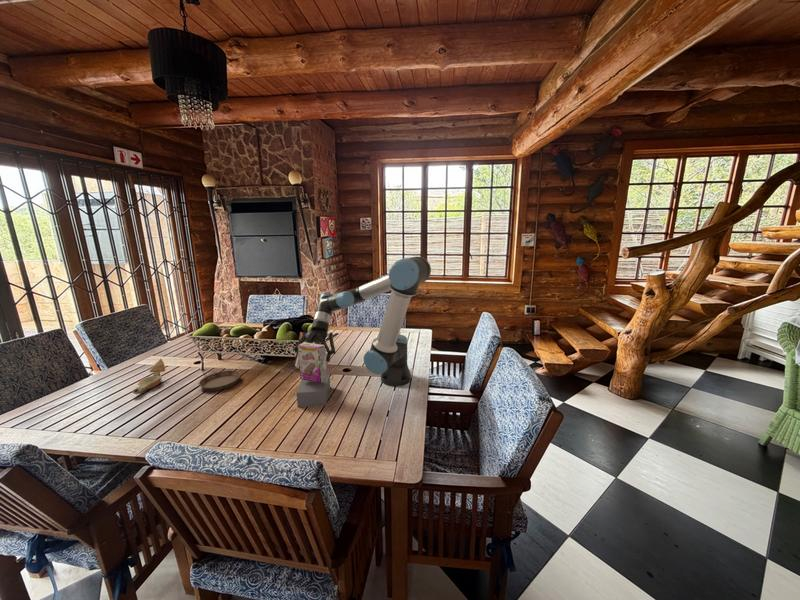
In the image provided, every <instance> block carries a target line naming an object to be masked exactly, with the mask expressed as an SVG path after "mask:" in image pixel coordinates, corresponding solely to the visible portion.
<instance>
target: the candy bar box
mask: <svg viewBox="0 0 800 600" xmlns="http://www.w3.org/2000/svg"><path fill="white" fill-rule="evenodd" d="M325 353H326V349H325V345H323V344H320V343H315V342H313V343H308V342H306V341H305V342H303V343H301V344H299V345H298V356H299V378H300V380H301V381H302V380H307V381H313V382H318V383H322V382H323V381H325V380H326V379H327V374H328V371H327V369H326V370H325V369H323V368H322V366H323V361H324V357H325Z"/></svg>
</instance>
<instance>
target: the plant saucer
mask: <svg viewBox="0 0 800 600" xmlns="http://www.w3.org/2000/svg"><path fill="white" fill-rule="evenodd" d="M240 377H241V373H240V372H239V371H236V370H223V371H218V372H214V373H211V374H208V375H206V376H205V377H203V378H202V379H201V380H199V382H198V385H199V386H200V387H201V388H202V389H203V390H206V391H209V392H210V391H211V392H213V391H214V392H215V390H216V391H220V390H225V389H228V388H229V387H232V386H233V385H235V384H236V383H237V382H238V380H239V379H240Z"/></svg>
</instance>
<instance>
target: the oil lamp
mask: <svg viewBox="0 0 800 600" xmlns="http://www.w3.org/2000/svg"><path fill="white" fill-rule="evenodd" d="M165 371H166V366H165V363H164V361H163V359H162V358H160V359H159V360H158V361H157V362H156V363H154V364H153V366H152V367H151V368H150V370H149V373H153V375H151V376H147V377H143V378H142V379H140V380H139V381H138V383H137V385H138V386H137V387H136V388H135V389H132V390H131V392H132V394H134V395H139V394H141V393H143V392H144V391H147V390H149V389H152V388H156V387H157V386H158V385H159V384H160V382H161V381H162V376H161V373H163V372H165Z"/></svg>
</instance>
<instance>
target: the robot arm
mask: <svg viewBox="0 0 800 600" xmlns="http://www.w3.org/2000/svg"><path fill="white" fill-rule="evenodd" d="M431 272H432V268H431V264H430V262H429V261H428V260H427V259H426V258H425V257H422V256H412V257H403V258H401V259H399V260H396V261H395V262H394V263H392V264H391V266H390V268H389V270H388V273H387V274H385V275H383V276H380V277H379V278H376V279H373V280H371V281H369V282H366V283H364V284H362V285H359V286H358V287H355V288H352V289H349V290H346V291H341V292H338V293H336V294H333V293H331V292H322V293H321V294H320V296H319V298H318V300H317V306H316V310H315V314H314V318H313V322H312V325H311V329H310V331H309V332H307V331H303V333H302V336H300V339H299V340H298V342H297V343H296V345H294V347H293V349H292V351H294V353H295V358H294V359H295V364H294V366H295V367H296V368H297V369H300V367H299V356H298V345H299V344H301V343H303V342H308V343H319V344H320V343H322V345H325V357H324V361H323V366H322V368H323V369H325V370H326V371H327V365H328V362H329V363H330V361H331V357H332V355H335V354H336V353H337V352H336V348H335V342H334V333H333V332H329V333H328V331H329V327H330V323H331V320H332V314H333V312H335V311H340V310H342V309H347V308H350V307H351V306H354V305H356V304H359V303H363V302H365V301H367V300H370V299H372V298H375V297H378V296H380V295H382V294H385V293H387V292H390V291H391V292H390V295H389V298H388V302H387V305H386V308H385V311H384V315H383V317H382V318H383V319H382V321H381V324H380V328H379V330H378V335H377V337H375V338H373V339H372V343H371V346H370V349H369V350H367V351H366V352H365V354H364V355H363V363H364V366H365V368H366V369H367V370H368V371H369V372H370V373H372V374H373V375H374V374H375V375H380V381H381V383H382V384H385V385H387V386H390V387H399V386H400V387H401V386H406V385H407V384H409V383H410V382H411V379H412V376H411V375H412V374H411V371H410V368H409V365H408V343H409V342H408V338H407V336H405V335H403V334H400V331H401V329H402V326H403V323H404V320H405V317H406V314H407V311H408V308H409V305H410V302H411V299H412V297H414V296H416V295H417V293H418V289H419V287H420V285H421V284H422V283H424V282H426V281H427V280H428V279H429V277H431ZM327 338H328V341H329V345H330V348H329V346H328V344H327V342H326V340H325V339H327Z"/></svg>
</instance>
